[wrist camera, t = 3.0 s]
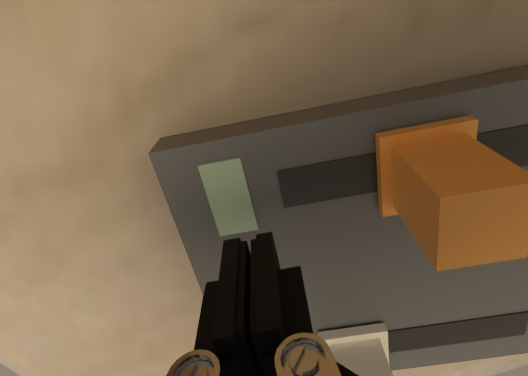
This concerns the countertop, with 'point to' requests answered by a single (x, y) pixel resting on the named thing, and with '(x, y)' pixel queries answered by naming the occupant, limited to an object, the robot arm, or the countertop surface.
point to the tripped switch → (453, 193)
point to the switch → (360, 348)
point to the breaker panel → (355, 216)
